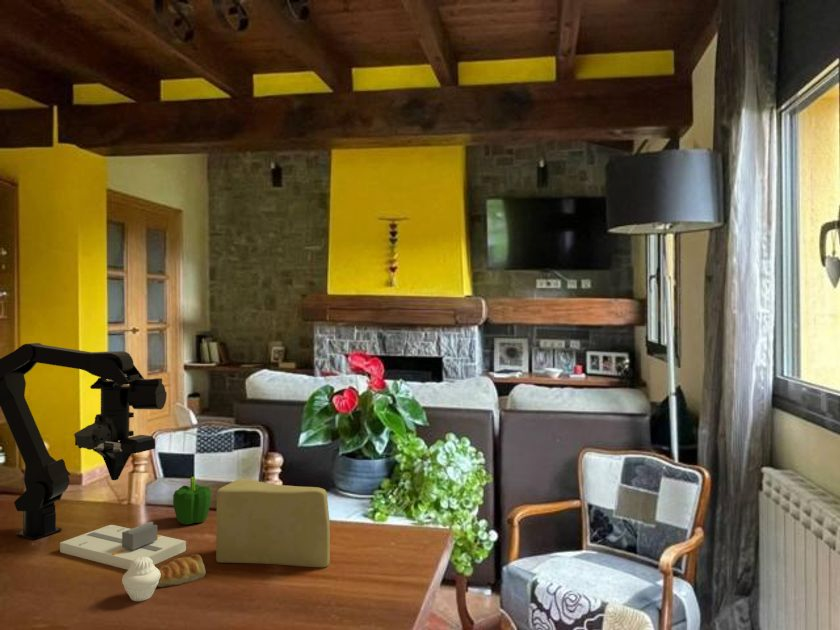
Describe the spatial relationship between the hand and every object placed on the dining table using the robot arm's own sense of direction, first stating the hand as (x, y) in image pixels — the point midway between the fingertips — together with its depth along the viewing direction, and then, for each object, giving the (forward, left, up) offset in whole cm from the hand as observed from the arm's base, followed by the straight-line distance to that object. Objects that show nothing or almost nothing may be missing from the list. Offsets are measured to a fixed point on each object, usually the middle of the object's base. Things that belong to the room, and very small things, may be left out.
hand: (114, 479), depth 140 cm
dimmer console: (+10, -6, -12) cm, 17 cm away
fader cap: (+15, -6, -10) cm, 19 cm away
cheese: (+41, +4, -12) cm, 43 cm away
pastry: (+30, -10, -12) cm, 34 cm away
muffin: (+30, -19, -12) cm, 38 cm away
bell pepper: (+9, +14, -12) cm, 21 cm away
